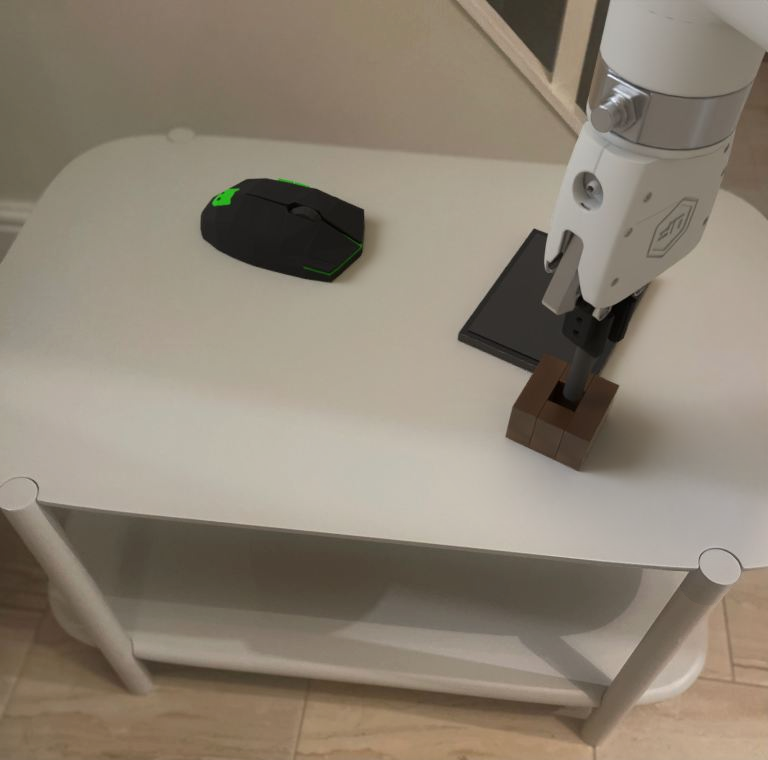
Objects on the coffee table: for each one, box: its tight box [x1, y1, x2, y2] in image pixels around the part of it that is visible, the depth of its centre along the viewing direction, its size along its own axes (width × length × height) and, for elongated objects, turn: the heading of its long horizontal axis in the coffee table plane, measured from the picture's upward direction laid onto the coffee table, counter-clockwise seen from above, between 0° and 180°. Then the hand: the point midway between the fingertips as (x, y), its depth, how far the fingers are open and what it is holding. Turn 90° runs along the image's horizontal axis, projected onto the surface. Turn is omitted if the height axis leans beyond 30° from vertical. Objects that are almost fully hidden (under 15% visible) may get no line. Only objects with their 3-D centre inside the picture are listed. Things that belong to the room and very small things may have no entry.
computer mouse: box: [199, 177, 365, 283], centre depth 76 cm, size 11×16×4 cm
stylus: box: [563, 305, 613, 401], centre depth 55 cm, size 1×1×12 cm
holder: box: [505, 353, 620, 472], centre depth 62 cm, size 6×6×4 cm
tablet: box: [457, 228, 650, 377], centre depth 71 cm, size 12×16×1 cm
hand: (591, 336), depth 54 cm, fingers closed on stylus, 1 cm apart
